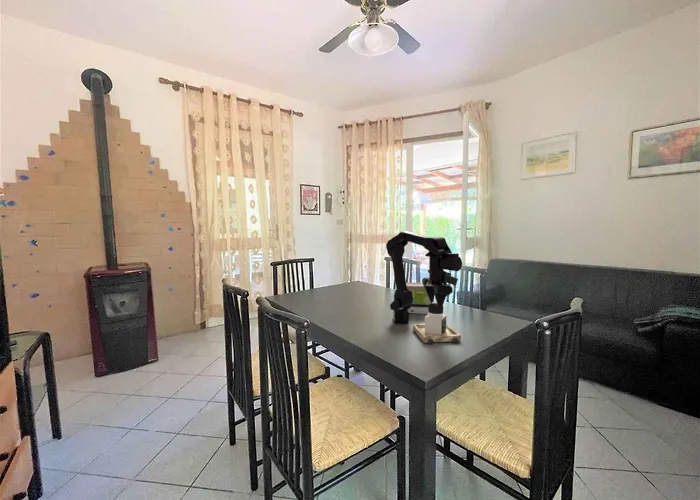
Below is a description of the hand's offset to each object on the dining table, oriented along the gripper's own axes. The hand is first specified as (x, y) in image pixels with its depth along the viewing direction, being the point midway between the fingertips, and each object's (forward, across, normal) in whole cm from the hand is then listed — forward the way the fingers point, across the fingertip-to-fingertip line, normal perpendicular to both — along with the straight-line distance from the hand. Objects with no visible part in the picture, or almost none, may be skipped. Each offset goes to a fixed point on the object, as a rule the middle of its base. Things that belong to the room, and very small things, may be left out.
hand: (436, 305), depth 125 cm
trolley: (+13, 0, 0) cm, 13 cm away
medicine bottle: (+12, 0, 0) cm, 12 cm away
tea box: (+13, +34, -3) cm, 37 cm away
